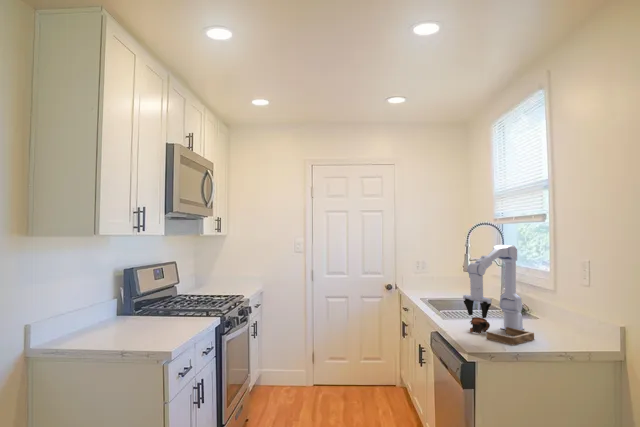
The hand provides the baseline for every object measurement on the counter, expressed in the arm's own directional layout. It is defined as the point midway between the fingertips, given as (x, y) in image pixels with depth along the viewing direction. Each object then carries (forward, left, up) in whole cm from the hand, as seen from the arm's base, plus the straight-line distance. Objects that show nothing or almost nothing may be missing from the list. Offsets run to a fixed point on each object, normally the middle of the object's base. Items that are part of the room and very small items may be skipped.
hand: (477, 316), depth 198 cm
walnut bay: (-10, +10, -10) cm, 18 cm away
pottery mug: (-10, -6, -10) cm, 16 cm away
